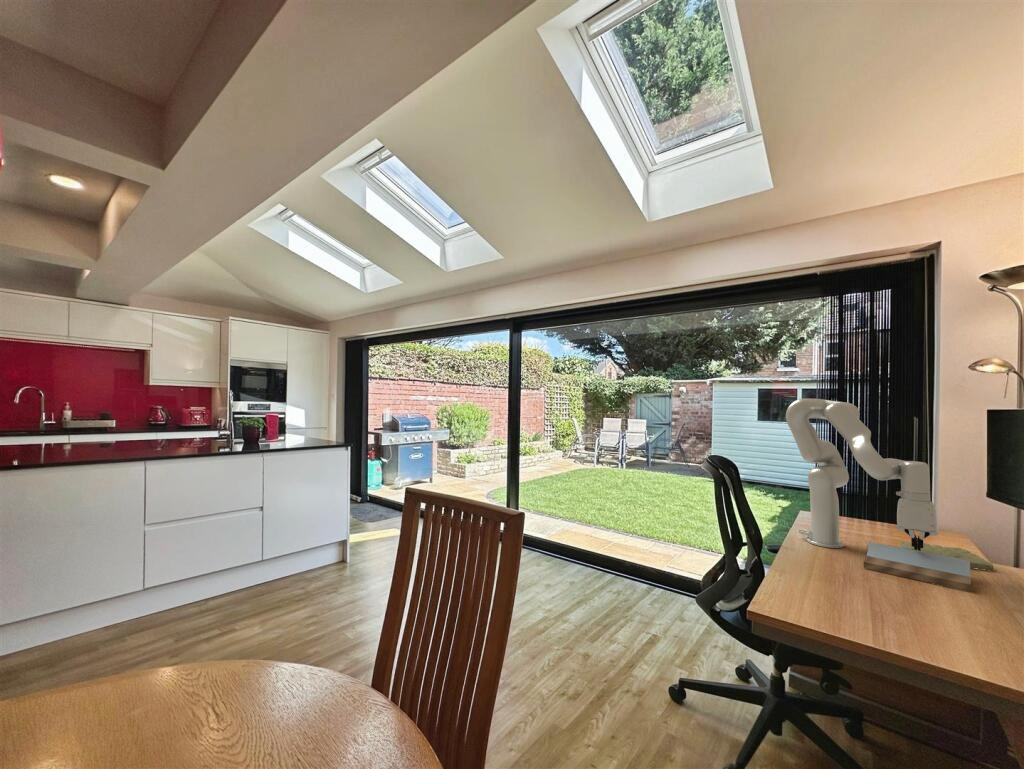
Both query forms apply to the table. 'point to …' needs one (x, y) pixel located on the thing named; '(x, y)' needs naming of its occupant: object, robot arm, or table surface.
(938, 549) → the decorative tile
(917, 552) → the grey-blue plank
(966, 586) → the walnut plank
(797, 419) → the robot arm
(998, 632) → the table surface
